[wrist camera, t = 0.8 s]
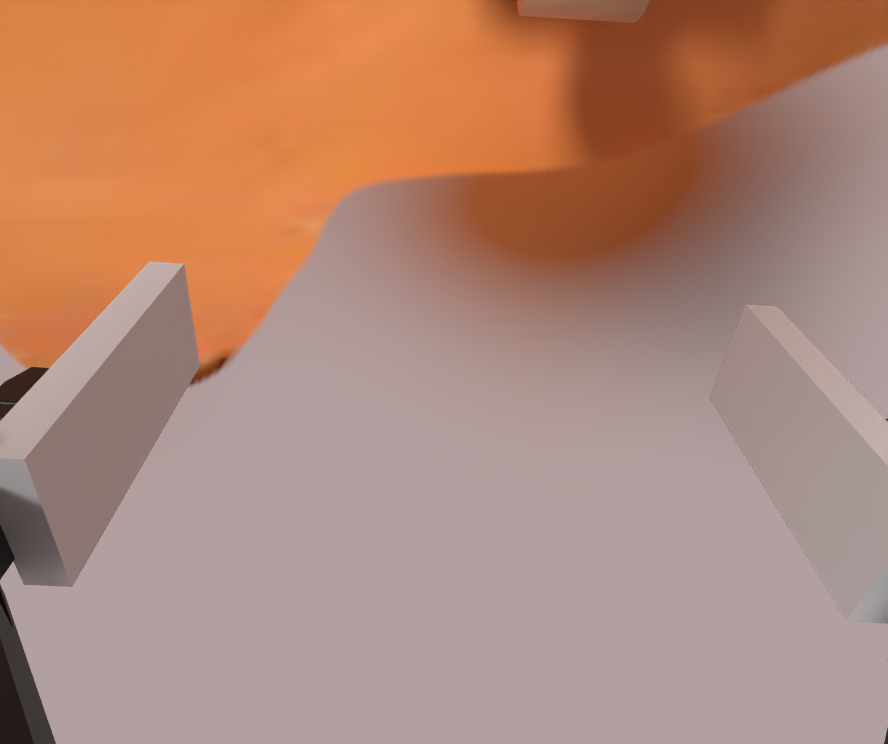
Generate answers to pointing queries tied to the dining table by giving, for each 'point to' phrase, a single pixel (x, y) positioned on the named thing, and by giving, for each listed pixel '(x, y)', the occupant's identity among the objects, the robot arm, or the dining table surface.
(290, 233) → the dining table surface
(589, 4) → the lid
